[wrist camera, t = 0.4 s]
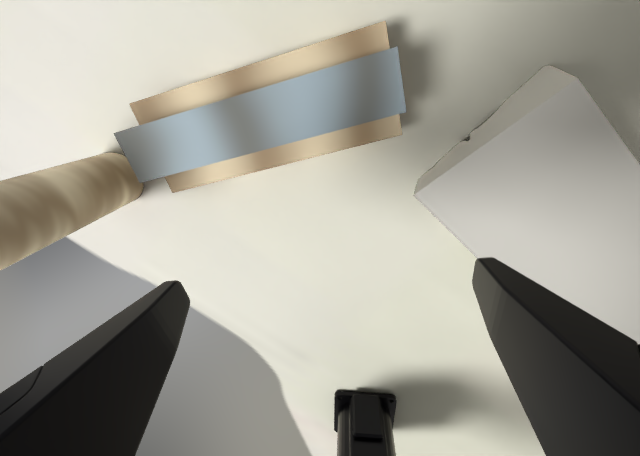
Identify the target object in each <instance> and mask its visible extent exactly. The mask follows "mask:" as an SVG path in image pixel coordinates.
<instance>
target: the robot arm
mask: <svg viewBox="0 0 640 456" xmlns="http://www.w3.org/2000/svg"><path fill="white" fill-rule="evenodd" d="M472 284H473V289H474V292H475V295H476V298H477V300H478V303H479V306H480V309H481V312H482V315H483V318H484V321H485V324H486V327H487V330H488V333H489V335H490V338H491V340H492V342H493V345H494V347H495V349H496V351H497V353H498V355H499V357H500V360H501V362H502V364H503V366H504V368H505V370H506V372H507V374H508V376H509V379H510V381H511V383H512V385H513V387H514V389H515V391H516V393H517V395H518V398H519V400H520V402H521V404H522V406H523V408H524V410H525V412H526V414H527V416H528V419H529V421H530V423H531V425H532V427H533V429H534V431H535V433H536V435H537V438H538V440H539V442H540V444H541V446H542V448H543V450H544V452H545V454H546V456H640V344H638V343H637V342H636V341H635V340H633V339H632V338H630V337H628V336H627V335H625V334H623V333H622V332H620V331H618V330H616V329H615V328H613V327H611V326H610V325H608V324H606V323H604V322H603V321H601V320H599V319H598V318H596V317H594V316H593V315H591V314H589V313H587V312H586V311H584V310H582V309H581V308H579V307H577V306H576V305H574V304H572V303H570V302H569V301H567V300H565V299H564V298H562V297H560V296H559V295H557V294H555V293H553V292H552V291H550V290H548V289H547V288H545V287H543V286H542V285H540V284H538V283H536V282H535V281H533V280H531V279H530V278H528V277H526V276H525V275H523V274H521V273H519V272H518V271H516V270H514V269H513V268H511V267H509V266H507V265H506V264H504V263H502V262H501V261H499V260H497V259H496V258H493V257H485V258H478V259H477V260H476V262H475V267H474V273H473V279H472ZM189 306H190V300H189V297H188V295H187V293H186V291H185V289H184V288H183V286H182V284H181V282H179V281H166V282H164V283H162V284H161V285H159V286H158V287H157V288H155V289H154V290H152V291H151V292H149V293H148V294H146V295H145V296H143V297H142V298H140V299H139V300H137V301H136V302H134V303H133V304H132V305H130V306H129V307H127V308H126V309H124V310H123V311H122V312H120V313H118V314H117V315H115V316H114V317H112V318H111V319H109V320H108V321H107V322H105V323H104V324H103V325H101V326H99V327H98V328H96V329H95V330H93V331H92V332H90V333H89V334H88V335H86V336H85V337H83V338H82V339H81V340H79V341H77V342H76V343H74V344H73V345H71V346H70V347H68V348H67V349H66V350H64V351H63V352H61V353H60V354H58V355H57V356H55V357H54V358H52V359H51V360H49V361H48V362H46V363H45V364H44V366H40V367H39V368H37V369H36V370H34V371H33V372H32V373H30V374H29V375H27V376H26V377H24V378H23V379H21V380H20V381H18V382H17V383H16V384H14V385H12V386H11V387H9V388H8V389H6V390H5V391H3V392H2V393H0V456H135V455H136V452H137V450H138V447H139V444H140V442H141V439H142V437H143V434H144V432H145V429H146V427H147V424H148V422H149V419H150V416H151V414H152V412H153V409H154V407H155V404H156V402H157V399H158V397H159V394H160V391H161V389H162V387H163V384H164V382H165V379H166V377H167V374H168V371H169V369H170V366H171V364H172V361H173V359H174V356H175V354H176V351H177V348H178V345H179V341H180V338H181V334H182V331H183V327H184V324H185V320H186V317H187V313H188V310H189ZM395 408H396V397H395V396H394V395H390V394H374V393H358V392H341V391H338V392H336V393H335V413H334V430H335V431H336V432H338V441H337V456H396V452H395V445H394V438H393V431H392V429H393V422H394V415H395Z"/></svg>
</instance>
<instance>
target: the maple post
mask: <svg viewBox="0 0 640 456" xmlns="http://www.w3.org/2000/svg"><path fill="white" fill-rule="evenodd" d="M143 186H144V184H143V182H142V183H139V181H138V179H137V177H136V175H135V173H134V171H133V169H132V167H131V165H130V164H129V162H128V160H127V158H126V157H125V156H123V155H121V154H118V153H111V152H110V153H104V154H100V155H96V156H93V157H89V158H85V159H81V160H78V161H74V162H70V163H66V164H63V165H59V166H55V167H51V168H47V169H44V170H40V171H36V172H32V173H29V174H25V175H21V176H17V177H14V178H10V179H6V180H2V181H0V270H2V269H4V268H6V267H8V266H10V265H12V264H14V263H16V262H17V261H19V260H21V259H23V258H25V257H27V256H29V255H31V254H33V253H35V252H37V251H38V250H40V249H42V248H44V247H46V246H48V245H50V244H52V243H54V242H55V241H57V240H59V239H61V238H63V237H65V236H67V235H69V234H71V233H73V232H75V231H77V230H79V229H80V228H82V227H84V226H86V225H88V224H90V223H92V222H94V221H96V220H98V219H99V218H101V217H103V216H105V215H107V214H109V213H111V212H113V211H115V210H117V209H119V208H120V207H122V206H124V205H126V204H128V203H130V202H132V201H134V200H136V199H137V198H138V197H139V196H140V195H141V193H142V191H143Z"/></svg>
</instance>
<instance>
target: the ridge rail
mask: <svg viewBox="0 0 640 456" xmlns="http://www.w3.org/2000/svg"><path fill="white" fill-rule="evenodd" d="M130 106H131V109H132V111H133V113H134V115H135V117H136V119H137V121H138V123H139V126H136V127H133V128H130V129H126V130H123V131H120V132H117V133H114V135H115V137H116V139H117V141H118V143H119V145H120V146H121V148H122V150H123V152H124V154H125V156H126V158H127V160H128V162H129V164H130V165H131V167H132V169H133V171H134V173H135V175H136V177H137V179H138V181H139V183H142V182H146V181H149V180H153V179H157V178H161V177H164V176H165V178H166V181H167V183H168V185H169V187H170V189H171V191H172V193H174V192H178V191H182V190H186V189H190V188H194V187H198V186H202V185H206V184H210V183H214V182H218V181H222V180H226V179H230V178H234V177H238V176H242V175H245V174H249V173H253V172H257V171H261V170H265V169H269V168H273V167H277V166H281V165H285V164H289V163H293V162H297V161H301V160H305V159H309V158H313V157H316V156H320V155H324V154H328V153H332V152H336V151H340V150H344V149H348V148H352V147H356V146H360V145H364V144H368V143H372V142H376V141H380V140H384V139H387V138H391V137H395V136H399V135H402V130H401V123H400V116H399V114H401V113H405V112H406V105H405V98H404V91H403V83H402V76H401V69H400V61H399V54H398V47H394V48H390V47H389V41H388V34H387V27H386V21H383V22H380V23H377V24H374V25H371V26H368V27H365V28H362V29H358V30H355V31H352V32H349V33H346V34H343V35H340V36H337V37H334V38H331V39H328V40H325V41H321V42H318V43H315V44H312V45H309V46H306V47H303V48H300V49H297V50H294V51H291V52H288V53H284V54H281V55H278V56H275V57H272V58H269V59H266V60H263V61H260V62H257V63H254V64H251V65H247V66H244V67H241V68H238V69H235V70H232V71H229V72H226V73H223V74H220V75H217V76H214V77H210V78H207V79H204V80H201V81H198V82H195V83H192V84H189V85H186V86H183V87H180V88H177V89H173V90H170V91H167V92H164V93H161V94H158V95H155V96H152V97H149V98H146V99H143V100H139V101H136V102H133V103H130Z"/></svg>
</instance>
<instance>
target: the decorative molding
mask: <svg viewBox="0 0 640 456" xmlns="http://www.w3.org/2000/svg"><path fill="white" fill-rule="evenodd" d="M413 195H414V196H415V197H416V198H417V199H418V200H419V201H420V202H421V203H422V204H423V205H424V206H425V207H426V208H427V209H428V210H429V211H430V212H431V213H432V214H433V215H434V216H435V217H436V218H437V219H438V220H439V221H440V222H441V223H442V224H443V225H444V226H445V227H446V228H447V229H448V230H449V231H450V232H451V233H452V234H453V235H454V236H455V237H456V238H457V239H458V240H459V241H460V242H461V243H462V244H463V245H464V246H465V247H466V248H467V249H468V250H469V251H470V252H471V253H472V254H473V255H474V256H475V257H476V258H477V259H478V258H485V257H493V258H496V259H497V260H499V261H501V262H502V263H504V264H506V265H507V266H509V267H511V268H513V269H514V270H516V271H518V272H519V273H521V274H523V275H525V276H526V277H528V278H530V279H531V280H533V281H535V282H536V283H538V284H540V285H542V286H543V287H545V288H547V289H548V290H550V291H552V292H553V293H555V294H557V295H559V296H560V297H562V298H564V299H565V300H567V301H569V302H570V303H572V304H574V305H576V306H577V307H579V308H581V309H582V310H584V311H586V312H587V313H589V314H591V315H593V316H594V317H596V318H598V319H599V320H601V321H603V322H604V323H606V324H608V325H610V326H611V327H613V328H615V329H616V330H618V331H620V332H622V333H623V334H625V335H627V336H628V337H630V338H632V339H633V340H635V341H636V342H637V343H638V344H640V164H639V163H638V161H637V160H636V158H635V157H634V156H633V154H632V153H631V151H630V150H629V149H628V147H627V146H626V144H625V143H624V142H623V140H622V139H621V137H620V136H619V135H618V133H617V132H616V130H615V129H614V128H613V126H612V125H611V123H610V122H609V121H608V119H607V118H606V116H605V115H604V114H603V112H602V111H601V109H600V108H599V107H598V105H597V104H596V102H595V101H594V100H593V98H592V97H591V95H590V94H589V93H588V91H587V90H586V88H585V87H584V86H583V84H582V83H581V81H580V80H579V79H578V78H577V77H575V76H573V75H571V74H568V73H566V72H564V71H562V70H560V69H557V68H555V67H553V66H551V65H547V66H544V67H543V68H541V69H540V70H539V71H538V72H537V73H536V74H535V75H534V76H532V77H531V78H530V79H529V80H528V81H527V82H526V83H525V84H524V85H522V86H521V87H520V88H519V89H518V90H517V91H516V92H515V93H514V94H512V95H511V96H510V97H509V98H508V99H507V100H506V101H505V102H504V103H503V104H502V105H501V106H500V107H499V108H498V110H497V111H496V112H495V113H494V114H493V115H492V116H491V117H490V118H489V119H488V120H486V121H485V122H484V123H483V124H482V125H480V126H479V127H478V128H476V129H475V130H473V131H472V132H470V140H469V141H460V142H459V143H458V144H457V145H456V146H455V147H453V148H452V149H451V150H450V151H449V152H448V153H447V154H446V155H445V156H443V157H442V158H441V159H440V160H439V161H438V162H437V163H436V165H435V166H434V167H433V168H431V169H430V170H429V171H428V172H426V173H425V174H424V175H422V176H421V177H420V178H419V179H418V180H417V184H416V187H415V191H414V194H413Z"/></svg>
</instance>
